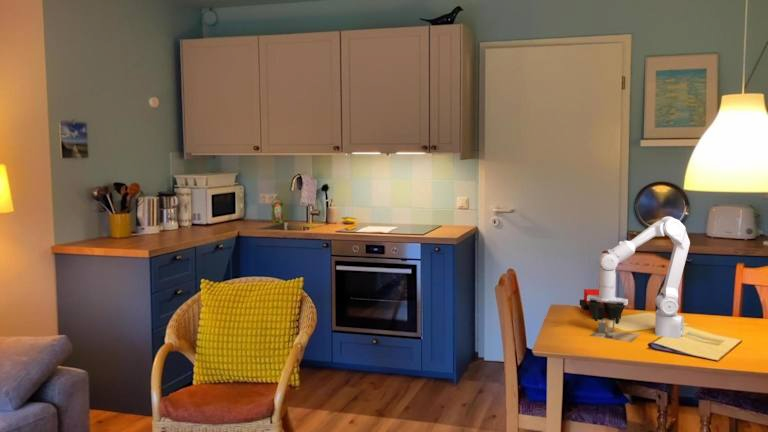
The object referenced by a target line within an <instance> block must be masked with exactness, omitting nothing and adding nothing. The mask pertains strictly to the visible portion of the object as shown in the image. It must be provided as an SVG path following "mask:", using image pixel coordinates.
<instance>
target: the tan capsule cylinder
mask: <svg viewBox="0 0 768 432" xmlns="http://www.w3.org/2000/svg"><path fill="white" fill-rule="evenodd" d="M612 320H613V319H607V320H606V321H605V338H604V339H607V338H613V321H612Z"/></svg>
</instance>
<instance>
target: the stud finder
mask: <svg viewBox="0 0 768 432" xmlns="http://www.w3.org/2000/svg"><path fill="white" fill-rule="evenodd" d="M606 320H608V319H607V318H606V319H605V318H602V319H601V320H600V321H599V322H598V325H597V326H598V329H597V330H598V333H601V334H605V321H606ZM611 320H612V321H613V331H615V319H614V320H613V319H611Z"/></svg>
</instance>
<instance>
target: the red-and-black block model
mask: <svg viewBox="0 0 768 432" xmlns="http://www.w3.org/2000/svg"><path fill="white" fill-rule="evenodd" d="M588 295H599V288H597V289H596V288H594V289H593V288H592V289H591V288H589V289H588V288H584V289H583V299H579V306H580V307H581V309H582V310H583V311H585V312H586V314H587V315H588V316H592V318H593V319H594V315H593V312H592V309H591V307H590V305H589V303H590V301H587V296H588ZM615 305H617V304H614V303H605V302H599V310H598V314H599V318H598V319H605V318H606V317H605V316H607V317H608V318H609V319H615V318H616V312H615ZM620 319H622V315H621V316H620Z"/></svg>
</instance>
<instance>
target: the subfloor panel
mask: <svg viewBox="0 0 768 432" xmlns="http://www.w3.org/2000/svg"><path fill="white" fill-rule="evenodd" d="M640 336H641V334H640V333H634V332H627V331H619V330H614V331H613V338H605V334H601V333H598V329H597V330H595V331H594V332H592V333H591V334H590V335H589V337H596V338H601V339H607V340H615V341H619V342H620V341H621V342H626V343H627V342H628V343H632V342H633V341H635V340H636V339H637V338H638V337H640Z"/></svg>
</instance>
